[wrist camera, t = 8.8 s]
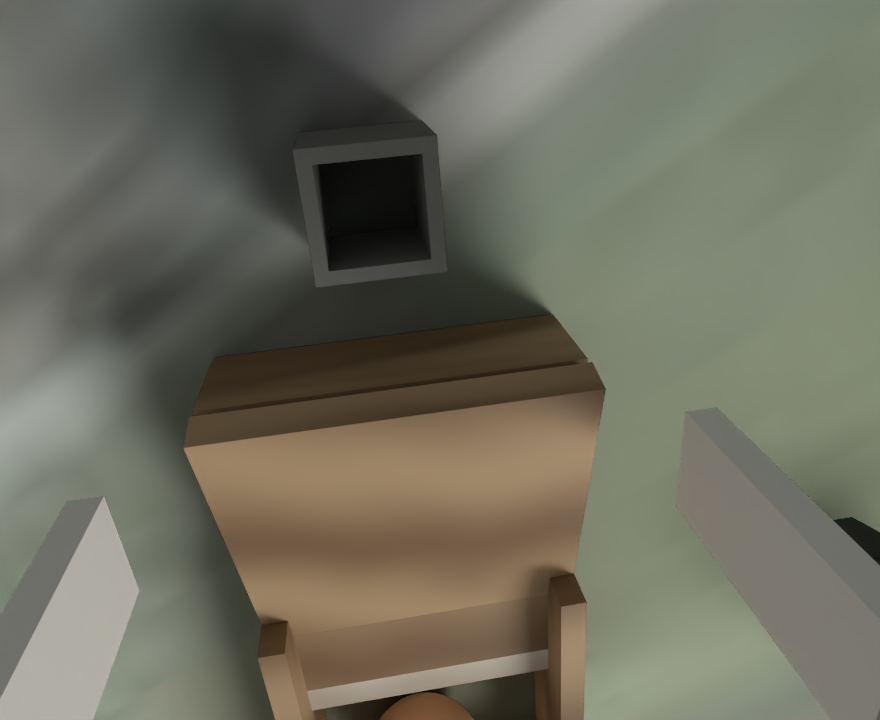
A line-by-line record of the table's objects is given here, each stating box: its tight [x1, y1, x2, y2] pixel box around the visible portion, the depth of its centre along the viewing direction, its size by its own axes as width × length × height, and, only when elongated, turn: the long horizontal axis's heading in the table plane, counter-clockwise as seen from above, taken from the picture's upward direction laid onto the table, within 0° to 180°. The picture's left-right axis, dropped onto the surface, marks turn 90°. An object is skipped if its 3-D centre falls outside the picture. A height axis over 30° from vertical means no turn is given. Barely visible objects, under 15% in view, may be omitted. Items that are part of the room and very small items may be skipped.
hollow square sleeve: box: [292, 120, 447, 288], centre depth 16 cm, size 3×3×3 cm
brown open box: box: [183, 314, 606, 720], centre depth 22 cm, size 20×10×4 cm, turn 5°
